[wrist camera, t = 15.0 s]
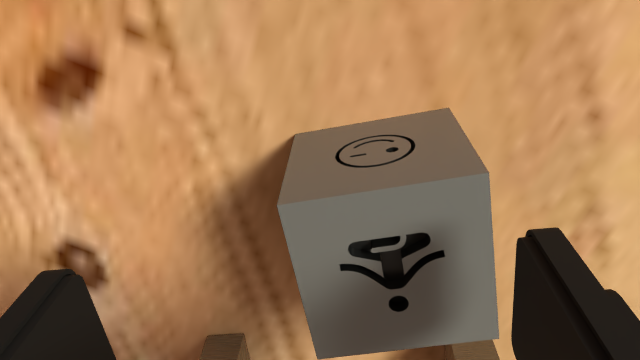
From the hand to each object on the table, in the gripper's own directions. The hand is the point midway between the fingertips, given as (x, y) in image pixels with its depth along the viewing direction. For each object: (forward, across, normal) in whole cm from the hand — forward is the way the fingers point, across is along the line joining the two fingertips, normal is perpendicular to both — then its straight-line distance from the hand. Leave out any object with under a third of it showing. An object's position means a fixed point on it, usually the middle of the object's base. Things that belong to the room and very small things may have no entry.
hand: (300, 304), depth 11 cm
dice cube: (+7, -2, +1) cm, 8 cm away
